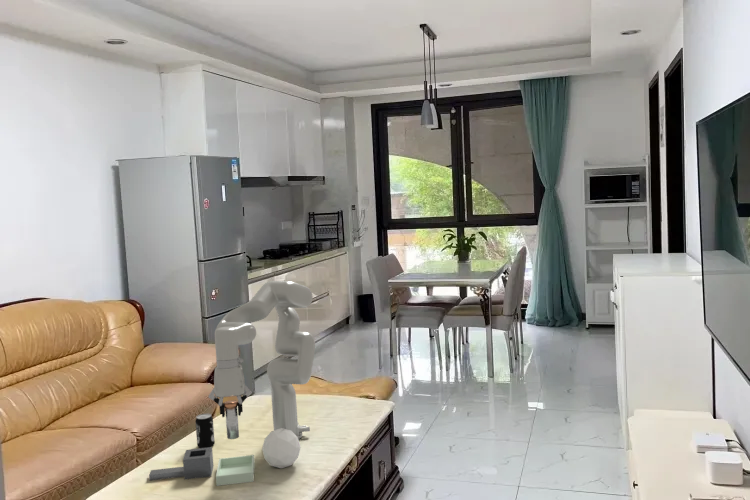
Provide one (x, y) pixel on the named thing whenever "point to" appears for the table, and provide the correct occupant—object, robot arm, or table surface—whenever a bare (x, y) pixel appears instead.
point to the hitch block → (189, 466)
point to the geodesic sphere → (281, 448)
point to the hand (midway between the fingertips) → (231, 414)
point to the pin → (231, 419)
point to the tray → (235, 470)
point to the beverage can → (204, 431)
